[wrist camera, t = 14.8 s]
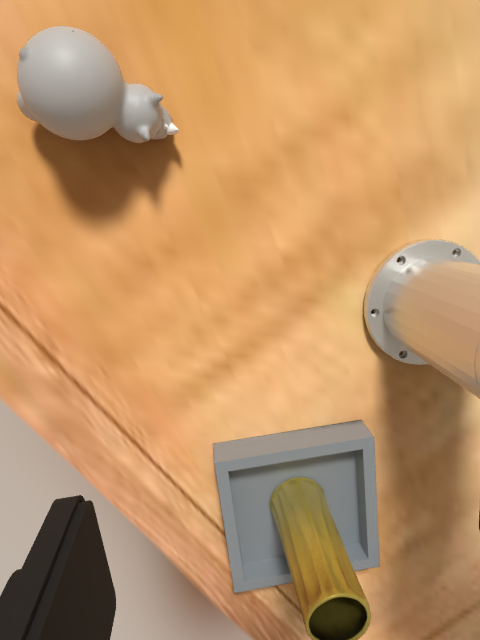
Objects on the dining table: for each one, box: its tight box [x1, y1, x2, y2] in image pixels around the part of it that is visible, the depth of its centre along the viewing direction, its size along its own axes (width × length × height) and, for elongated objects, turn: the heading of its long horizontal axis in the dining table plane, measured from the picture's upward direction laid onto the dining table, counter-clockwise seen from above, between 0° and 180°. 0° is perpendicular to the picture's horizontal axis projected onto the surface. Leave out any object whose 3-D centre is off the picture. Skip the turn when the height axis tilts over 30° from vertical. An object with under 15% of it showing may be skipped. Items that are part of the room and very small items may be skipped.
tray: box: [213, 420, 380, 593], centre depth 47 cm, size 16×16×4 cm
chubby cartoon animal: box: [17, 26, 179, 143], centre depth 33 cm, size 7×12×8 cm, turn 69°
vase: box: [270, 477, 371, 640], centre depth 40 cm, size 6×6×14 cm
